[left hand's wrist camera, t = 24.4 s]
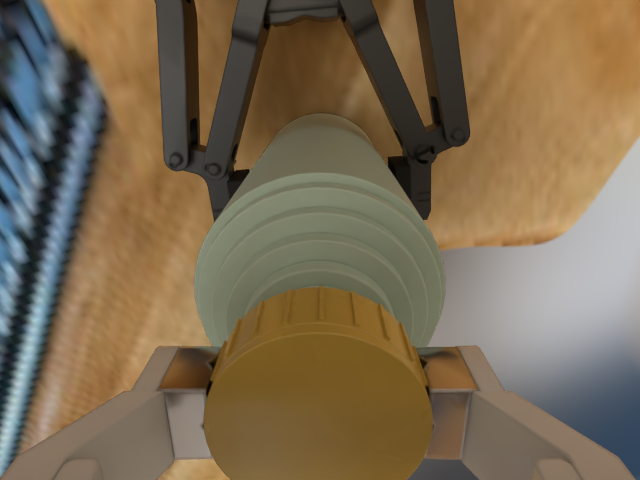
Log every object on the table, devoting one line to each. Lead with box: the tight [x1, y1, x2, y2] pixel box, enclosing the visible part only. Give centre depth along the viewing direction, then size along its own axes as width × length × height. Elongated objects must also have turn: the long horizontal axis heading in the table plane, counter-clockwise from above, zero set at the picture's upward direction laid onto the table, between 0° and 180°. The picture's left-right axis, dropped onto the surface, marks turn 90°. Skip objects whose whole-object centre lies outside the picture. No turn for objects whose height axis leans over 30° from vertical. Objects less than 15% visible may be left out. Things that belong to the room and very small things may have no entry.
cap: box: [203, 286, 433, 480], centre depth 10 cm, size 5×5×2 cm
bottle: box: [194, 113, 445, 347], centre depth 20 cm, size 8×8×22 cm
